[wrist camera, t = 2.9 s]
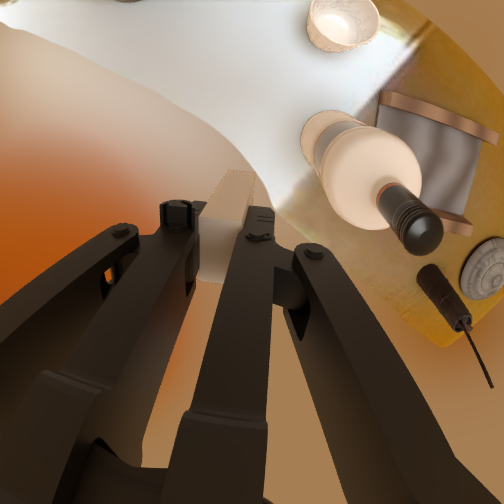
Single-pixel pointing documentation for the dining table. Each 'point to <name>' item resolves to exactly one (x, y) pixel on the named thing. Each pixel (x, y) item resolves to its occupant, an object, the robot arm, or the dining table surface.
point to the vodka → (371, 179)
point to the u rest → (437, 152)
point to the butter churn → (448, 304)
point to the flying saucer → (484, 271)
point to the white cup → (342, 24)
